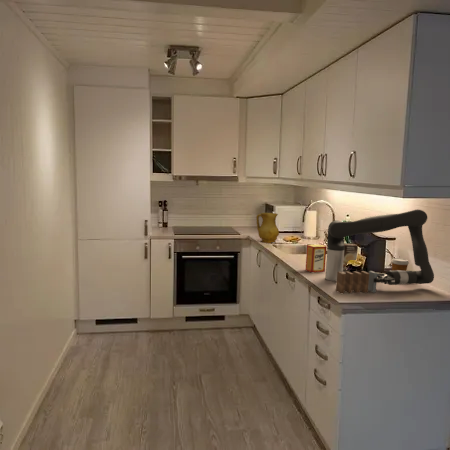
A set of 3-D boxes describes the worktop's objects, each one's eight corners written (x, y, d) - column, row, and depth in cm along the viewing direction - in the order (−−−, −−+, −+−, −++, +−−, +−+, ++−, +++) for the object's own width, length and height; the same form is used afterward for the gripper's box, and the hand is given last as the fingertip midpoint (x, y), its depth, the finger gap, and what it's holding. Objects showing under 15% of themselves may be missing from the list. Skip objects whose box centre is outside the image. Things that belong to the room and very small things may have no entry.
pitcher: (267, 243, 353) (268, 213, 352) (252, 241, 368) (254, 212, 367) (282, 243, 363) (284, 213, 362) (268, 240, 378) (269, 212, 377)
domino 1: (338, 290, 221) (340, 271, 219) (343, 293, 216) (345, 273, 214) (335, 290, 220) (337, 271, 219) (340, 293, 215) (342, 274, 214)
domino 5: (370, 289, 225) (371, 270, 224) (375, 292, 220) (377, 273, 219) (367, 289, 225) (368, 271, 223) (372, 292, 220) (374, 273, 219)
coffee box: (341, 270, 268) (343, 244, 266) (338, 268, 274) (340, 243, 272) (356, 270, 268) (358, 245, 266) (352, 268, 274) (354, 243, 272)
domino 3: (354, 290, 223) (356, 271, 222) (359, 292, 218) (361, 273, 217) (351, 290, 222) (353, 271, 221) (356, 293, 218) (358, 273, 216)
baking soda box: (318, 269, 268) (320, 244, 266) (324, 271, 262) (326, 245, 260) (305, 270, 264) (307, 244, 262) (311, 272, 258) (313, 246, 256)
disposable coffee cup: (400, 282, 242) (402, 262, 241) (385, 279, 250) (387, 258, 248) (410, 281, 247) (412, 260, 246) (396, 277, 255) (397, 257, 254)
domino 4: (362, 289, 224) (363, 271, 223) (367, 292, 219) (369, 273, 218) (359, 290, 223) (361, 271, 222) (364, 292, 219) (366, 273, 217)
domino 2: (346, 290, 222) (348, 271, 220) (351, 293, 217) (353, 273, 216) (343, 290, 221) (345, 271, 220) (348, 293, 216) (350, 273, 215)
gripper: (389, 267, 231) (362, 267, 227) (406, 273, 218) (377, 274, 214) (387, 281, 232) (360, 281, 228) (404, 288, 219) (376, 289, 215)
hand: (369, 278), depth 221 cm, fingers open, 8 cm apart
